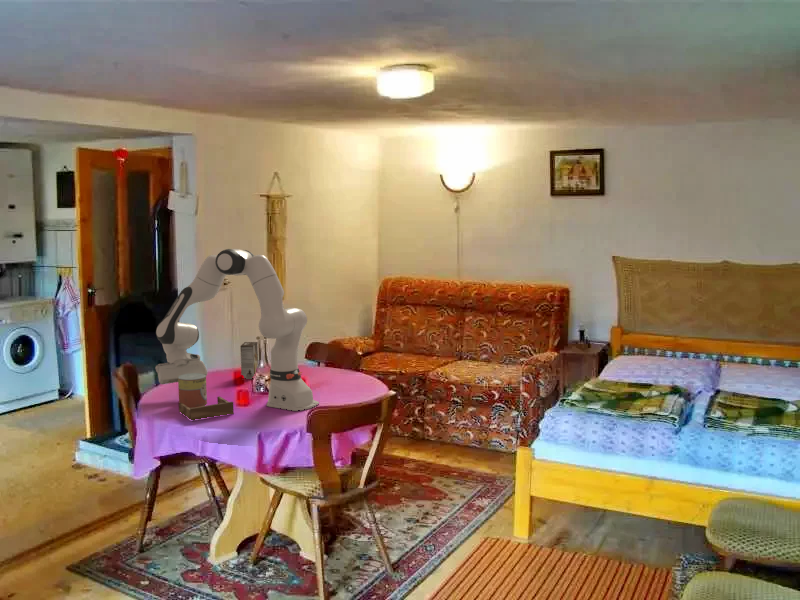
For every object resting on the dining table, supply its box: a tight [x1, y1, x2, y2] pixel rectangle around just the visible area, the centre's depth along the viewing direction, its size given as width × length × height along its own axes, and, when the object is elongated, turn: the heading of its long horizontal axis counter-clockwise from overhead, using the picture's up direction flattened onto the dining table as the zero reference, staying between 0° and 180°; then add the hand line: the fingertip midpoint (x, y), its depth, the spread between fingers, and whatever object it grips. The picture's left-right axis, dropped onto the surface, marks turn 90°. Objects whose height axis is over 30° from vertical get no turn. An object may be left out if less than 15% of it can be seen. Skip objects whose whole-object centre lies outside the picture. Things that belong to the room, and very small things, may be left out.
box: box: [178, 396, 235, 420], centre depth 301 cm, size 14×17×5 cm
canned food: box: [177, 373, 208, 408], centre depth 313 cm, size 11×11×12 cm
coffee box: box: [240, 341, 259, 380], centre depth 360 cm, size 9×6×16 cm
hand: (187, 388), depth 318 cm, fingers closed
